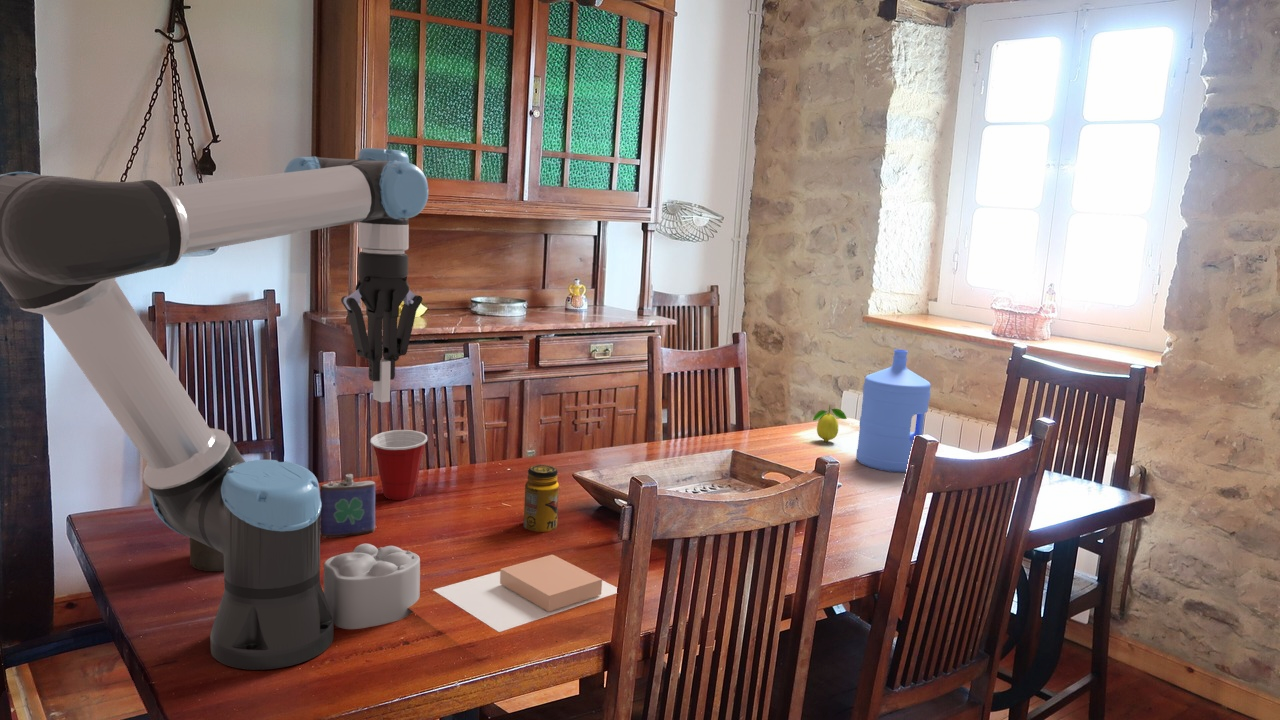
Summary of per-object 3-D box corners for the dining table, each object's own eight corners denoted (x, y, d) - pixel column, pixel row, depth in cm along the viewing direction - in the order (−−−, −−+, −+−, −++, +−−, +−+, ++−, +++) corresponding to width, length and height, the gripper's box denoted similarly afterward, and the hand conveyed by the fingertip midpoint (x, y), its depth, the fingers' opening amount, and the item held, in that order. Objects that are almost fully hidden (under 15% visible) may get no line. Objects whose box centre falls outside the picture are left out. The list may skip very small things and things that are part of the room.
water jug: (862, 470, 223) (874, 353, 218) (850, 453, 238) (861, 343, 233) (929, 475, 222) (943, 358, 217) (912, 457, 238) (925, 347, 233)
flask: (373, 527, 168) (374, 469, 166) (376, 533, 165) (377, 474, 163) (319, 533, 164) (319, 473, 162) (321, 539, 161) (321, 479, 159)
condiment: (565, 536, 170) (568, 471, 168) (523, 543, 165) (525, 477, 163) (546, 523, 176) (549, 460, 174) (505, 529, 171) (507, 465, 169)
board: (498, 640, 129) (499, 632, 129) (432, 597, 141) (432, 589, 141) (622, 598, 145) (623, 590, 145) (553, 562, 157) (554, 556, 157)
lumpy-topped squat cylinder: (318, 604, 137) (318, 547, 135) (404, 587, 144) (405, 533, 143) (341, 633, 128) (342, 573, 127) (431, 613, 136) (433, 556, 135)
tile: (499, 585, 144) (548, 613, 136) (500, 568, 144) (549, 595, 135) (551, 570, 151) (601, 596, 142) (552, 554, 150) (602, 579, 142)
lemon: (844, 444, 247) (848, 406, 245) (827, 446, 243) (831, 408, 242) (826, 437, 252) (830, 401, 250) (809, 439, 249) (813, 402, 247)
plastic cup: (358, 499, 182) (358, 439, 180) (389, 484, 192) (390, 427, 190) (407, 508, 179) (408, 447, 177) (437, 492, 189) (438, 434, 187)
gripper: (408, 249, 153) (406, 391, 157) (332, 249, 144) (331, 400, 148) (433, 253, 148) (430, 400, 152) (355, 253, 139) (354, 409, 143)
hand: (381, 400), depth 150 cm, fingers closed
